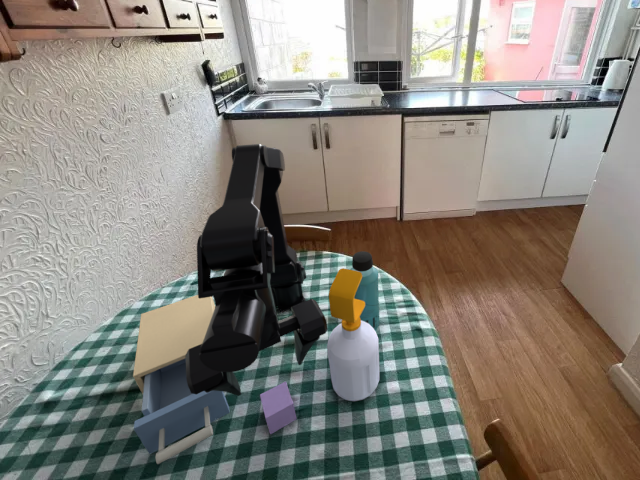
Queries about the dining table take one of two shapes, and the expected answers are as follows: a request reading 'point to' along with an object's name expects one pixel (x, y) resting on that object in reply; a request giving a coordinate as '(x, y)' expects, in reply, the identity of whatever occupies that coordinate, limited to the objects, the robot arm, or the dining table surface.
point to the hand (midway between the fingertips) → (270, 377)
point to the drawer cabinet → (170, 334)
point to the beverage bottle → (367, 287)
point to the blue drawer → (176, 412)
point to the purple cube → (278, 407)
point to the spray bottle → (351, 341)
